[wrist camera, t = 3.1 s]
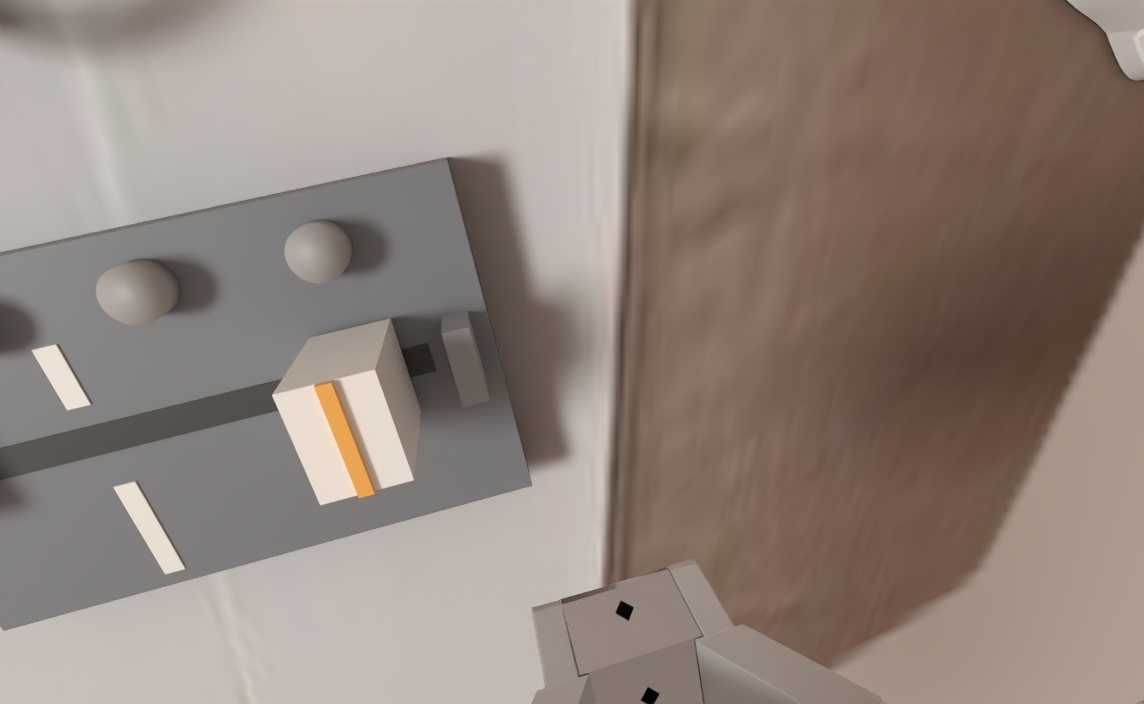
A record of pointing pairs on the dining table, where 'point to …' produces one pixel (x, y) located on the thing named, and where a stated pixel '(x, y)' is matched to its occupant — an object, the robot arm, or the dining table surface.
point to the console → (228, 384)
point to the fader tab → (351, 412)
